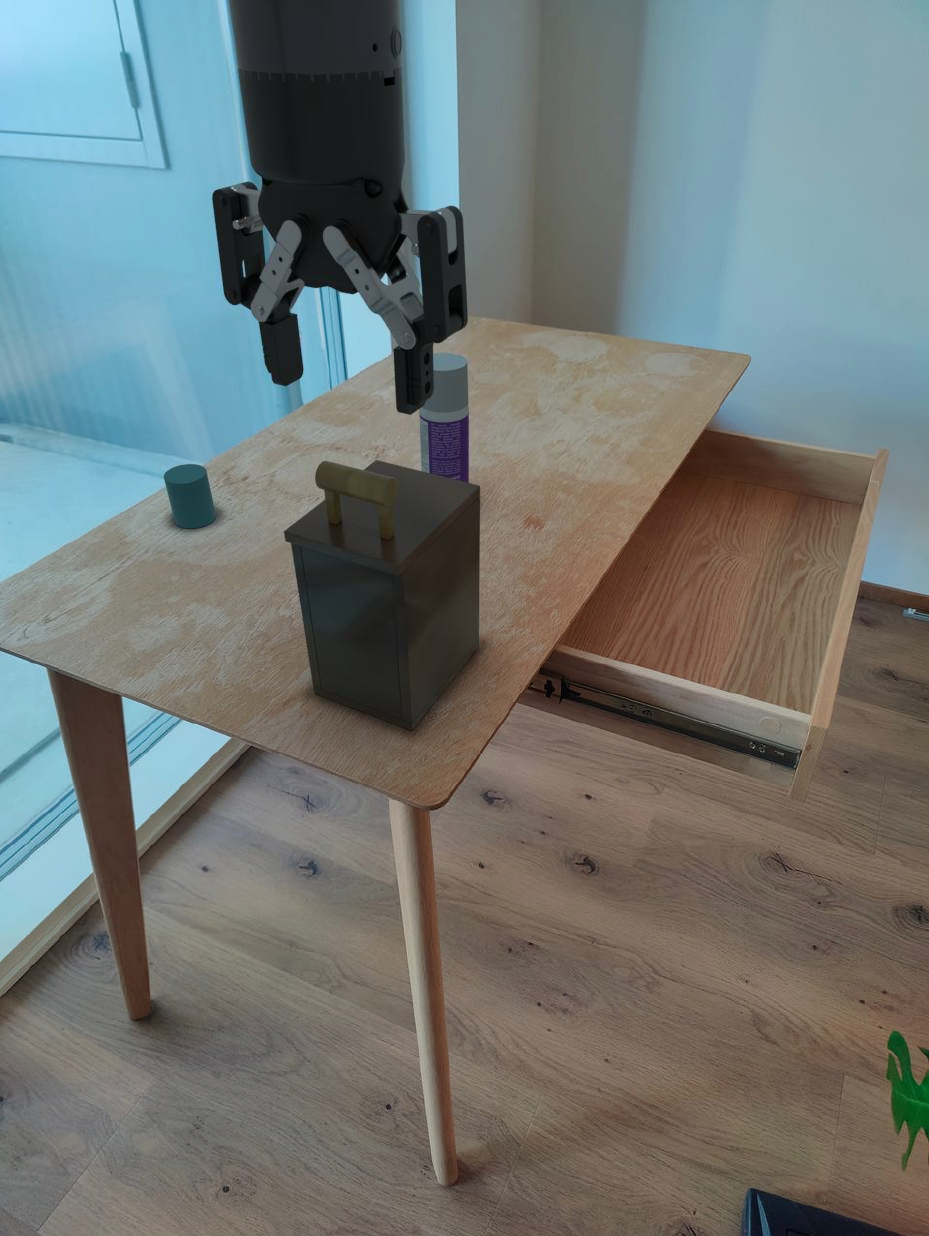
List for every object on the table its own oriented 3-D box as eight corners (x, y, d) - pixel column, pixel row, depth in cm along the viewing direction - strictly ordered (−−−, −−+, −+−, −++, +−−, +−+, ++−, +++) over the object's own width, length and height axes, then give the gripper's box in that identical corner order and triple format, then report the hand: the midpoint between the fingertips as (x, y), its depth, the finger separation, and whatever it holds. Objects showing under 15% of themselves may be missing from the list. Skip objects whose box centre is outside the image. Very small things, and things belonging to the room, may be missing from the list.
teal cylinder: (181, 533, 81) (170, 487, 78) (169, 515, 84) (158, 470, 81) (221, 521, 83) (212, 476, 80) (208, 504, 85) (198, 460, 82)
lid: (398, 576, 51) (393, 504, 48) (285, 541, 54) (273, 472, 51) (480, 495, 59) (480, 429, 56) (376, 469, 62) (371, 405, 59)
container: (477, 501, 86) (478, 358, 76) (452, 522, 82) (450, 374, 73) (439, 490, 88) (436, 348, 78) (413, 509, 84) (407, 364, 75)
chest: (412, 731, 60) (402, 572, 51) (313, 693, 63) (289, 537, 54) (479, 647, 67) (480, 496, 59) (388, 617, 70) (376, 469, 62)
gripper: (144, 58, 38) (209, 395, 48) (411, 71, 33) (423, 446, 43) (249, 48, 44) (288, 354, 54) (494, 58, 38) (487, 395, 48)
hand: (348, 394), depth 48 cm, fingers open, 8 cm apart
